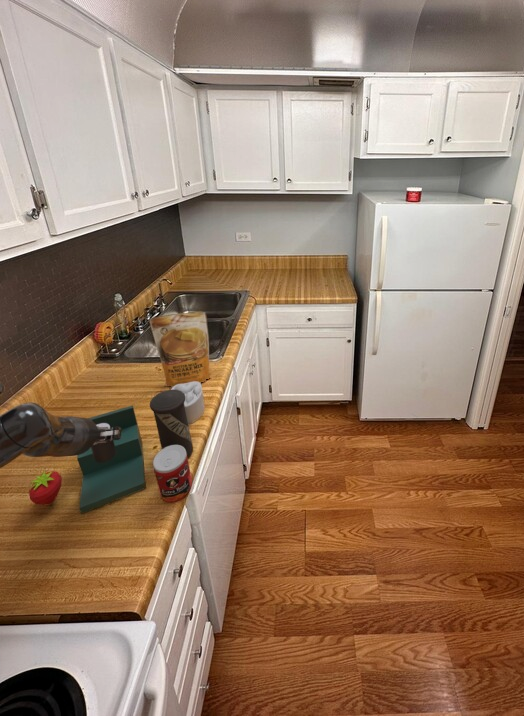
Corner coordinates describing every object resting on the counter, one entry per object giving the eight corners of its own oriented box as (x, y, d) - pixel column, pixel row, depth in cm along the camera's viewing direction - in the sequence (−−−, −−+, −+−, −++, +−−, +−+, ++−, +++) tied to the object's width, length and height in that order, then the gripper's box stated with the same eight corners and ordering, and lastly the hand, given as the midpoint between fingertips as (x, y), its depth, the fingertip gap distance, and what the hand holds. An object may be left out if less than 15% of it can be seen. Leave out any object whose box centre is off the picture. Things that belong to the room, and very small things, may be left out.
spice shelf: (81, 513, 79) (64, 471, 74) (87, 461, 93) (73, 422, 88) (145, 488, 86) (134, 447, 80) (142, 442, 100) (132, 405, 94)
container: (176, 470, 91) (163, 412, 83) (155, 456, 95) (141, 400, 87) (200, 448, 97) (191, 393, 90) (180, 436, 102) (169, 382, 94)
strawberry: (72, 486, 86) (61, 457, 82) (59, 513, 79) (46, 484, 76) (46, 491, 85) (34, 462, 81) (30, 519, 78) (16, 489, 74)
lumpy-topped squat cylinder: (204, 396, 119) (201, 376, 116) (205, 420, 108) (201, 399, 105) (173, 402, 116) (169, 381, 113) (170, 428, 105) (166, 406, 102)
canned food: (159, 508, 81) (151, 475, 77) (160, 480, 88) (153, 449, 83) (193, 497, 83) (186, 465, 79) (191, 471, 90) (185, 440, 86)
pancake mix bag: (163, 380, 128) (149, 314, 118) (214, 371, 133) (205, 308, 123) (160, 390, 122) (146, 322, 112) (214, 381, 127) (205, 315, 117)
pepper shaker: (93, 466, 80) (85, 440, 77) (95, 452, 84) (87, 427, 81) (116, 458, 82) (109, 433, 79) (116, 444, 86) (109, 420, 83)
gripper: (107, 412, 70) (136, 417, 86) (31, 421, 68) (75, 425, 83) (104, 450, 67) (134, 448, 83) (24, 462, 65) (71, 457, 80)
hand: (105, 436), depth 83 cm, fingers closed on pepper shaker, 4 cm apart
